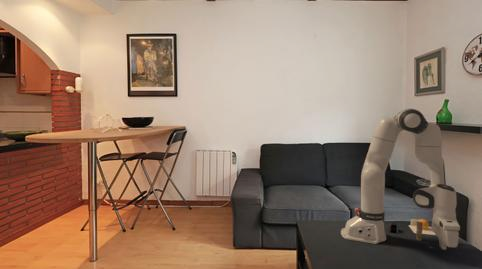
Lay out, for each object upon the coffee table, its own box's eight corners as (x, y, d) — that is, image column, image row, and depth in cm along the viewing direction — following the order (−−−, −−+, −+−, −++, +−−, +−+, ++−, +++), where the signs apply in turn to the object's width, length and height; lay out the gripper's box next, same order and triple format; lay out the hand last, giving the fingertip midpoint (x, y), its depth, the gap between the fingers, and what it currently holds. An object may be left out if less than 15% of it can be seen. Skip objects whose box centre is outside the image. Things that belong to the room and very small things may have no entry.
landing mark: (414, 233, 160) (414, 233, 160) (408, 225, 172) (408, 225, 172) (439, 235, 157) (439, 235, 157) (431, 227, 169) (431, 226, 169)
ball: (416, 227, 170) (420, 230, 164) (415, 218, 170) (419, 220, 165) (427, 227, 168) (431, 230, 163) (426, 218, 169) (430, 220, 163)
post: (417, 240, 152) (417, 223, 151) (415, 238, 154) (416, 221, 154) (422, 240, 151) (423, 223, 150) (421, 238, 154) (421, 221, 153)
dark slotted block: (401, 236, 158) (401, 228, 157) (386, 234, 161) (386, 226, 160) (399, 228, 169) (399, 220, 169) (385, 226, 172) (385, 219, 172)
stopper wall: (411, 225, 172) (411, 220, 172) (410, 224, 174) (410, 219, 174) (425, 226, 170) (425, 221, 170) (424, 225, 172) (424, 220, 172)
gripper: (428, 212, 149) (427, 238, 150) (445, 227, 129) (444, 257, 130) (442, 212, 147) (441, 239, 148) (462, 228, 127) (460, 259, 128)
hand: (442, 248), depth 139 cm, fingers closed
